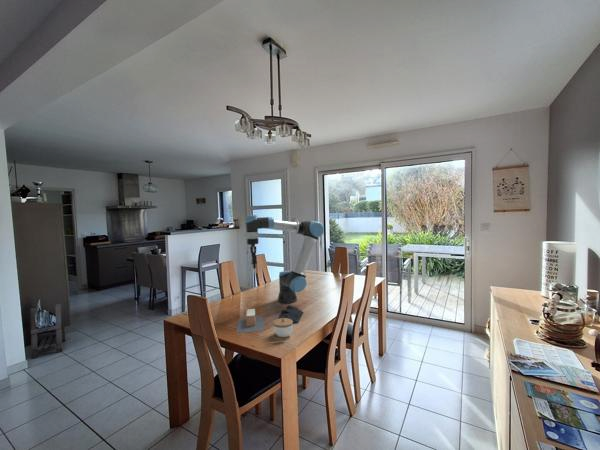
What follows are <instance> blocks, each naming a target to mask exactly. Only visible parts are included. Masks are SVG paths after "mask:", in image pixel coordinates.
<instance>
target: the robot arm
mask: <svg viewBox="0 0 600 450" xmlns="http://www.w3.org/2000/svg"><path fill="white" fill-rule="evenodd" d="M245 228H246V233H245V236H246V238H247V239H246V243H247V245H250V247H249V249H250V253H251V254H250V255H251V262H250V264H251V265H252V274H257V273H258V269H257V268H258V267H257V263H258V262H257V255H256V254H257V246H256V245H258V244H260V242H259V230H262V229H265V230H266V229H267V230H276V231H283V232H289V233H290V232H291V233H294V234H297V235H302V237H303V241H302V244H301V248H300V250H299V252H298V256H297V259H296V262H295V265H294V268H293V269H292V270H282V271H280V272H279V275H278V280H279V281H278V282H279V292H278V296H277V302H278V303H281V304H292V303H296V302H298V296H297V293H300V292H302V291H304V290H305V289H306V287H307V279H306V277H307V274H306V271H307V267H308V266H309V261H310V259H311V255H312V252H313V249H314V247H315V243H316V242H318V241H319V238H320V237H321V236H322V235H323V234H324V226H323V224H322V223H321V222H319V221H315V220H312V221H311V220H309V221H308V220H305V221H287V220H279V219H274V217H272V216H271V217H270V216H265V217H263V216H262V217H258V216H257V214H254V215H252V214H251V215H246V216H245ZM258 229H259V230H258Z"/></svg>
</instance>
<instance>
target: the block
mask: <svg viewBox="0 0 600 450" xmlns="http://www.w3.org/2000/svg"><path fill="white" fill-rule="evenodd" d="M255 317H256V308H250V309H249V308H248V309H246V317H245V318H246V319H247V326H255Z"/></svg>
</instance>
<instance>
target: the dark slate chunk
mask: <svg viewBox="0 0 600 450" xmlns="http://www.w3.org/2000/svg"><path fill="white" fill-rule="evenodd" d="M303 314H304V311H302V310H300V309H298V307H296V306H292V305H289V304H288V305H287V307H286V309H283V310H281V311H280V314H279V316H278V318H277V319H280V318H288V319H291V320H292V321H293V324H299V323H300V321H301V318H302V317H303Z"/></svg>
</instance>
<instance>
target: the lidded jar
mask: <svg viewBox="0 0 600 450" xmlns="http://www.w3.org/2000/svg"><path fill="white" fill-rule="evenodd" d="M293 324H294V323H293V321H292V320H291V319H288V318H280V319H278V318H277V319H275V320H273V330H274V333H275V335H276V336H277V337H280V338H287V337H289V336H290V335H291V333H292V331H293V329H294V328H293V326H294V325H293Z"/></svg>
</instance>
